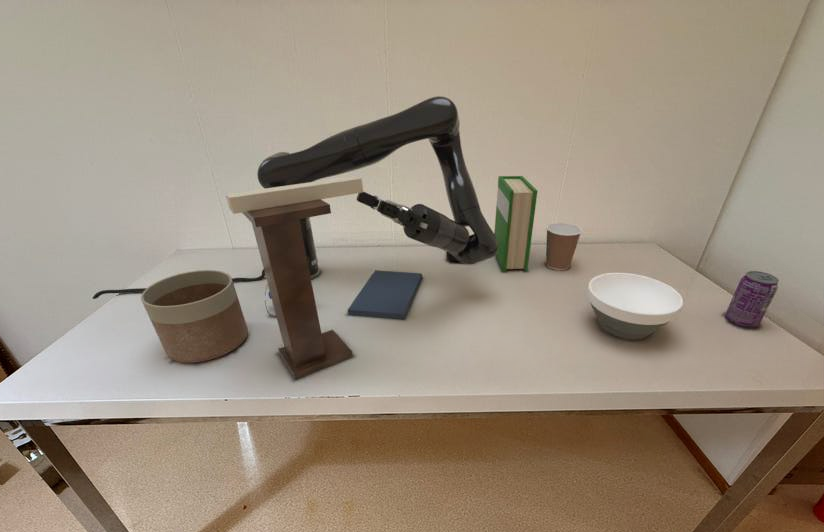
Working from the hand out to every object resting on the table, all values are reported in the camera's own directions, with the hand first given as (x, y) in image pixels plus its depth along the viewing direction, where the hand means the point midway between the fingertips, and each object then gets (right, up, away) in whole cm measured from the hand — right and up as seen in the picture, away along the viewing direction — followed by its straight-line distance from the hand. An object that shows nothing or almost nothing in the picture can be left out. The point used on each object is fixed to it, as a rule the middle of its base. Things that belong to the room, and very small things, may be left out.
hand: (368, 200), depth 74 cm
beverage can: (+86, -24, +21) cm, 92 cm away
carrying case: (+20, -3, +54) cm, 58 cm away
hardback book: (+35, -5, +51) cm, 62 cm away
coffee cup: (+49, -7, +47) cm, 69 cm away
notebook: (-1, -17, +30) cm, 35 cm away
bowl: (+57, -25, +18) cm, 64 cm away
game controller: (-24, -21, +24) cm, 40 cm away
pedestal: (-13, -30, +8) cm, 34 cm away
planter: (-37, -28, +11) cm, 48 cm away
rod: (-10, -2, -8) cm, 13 cm away
